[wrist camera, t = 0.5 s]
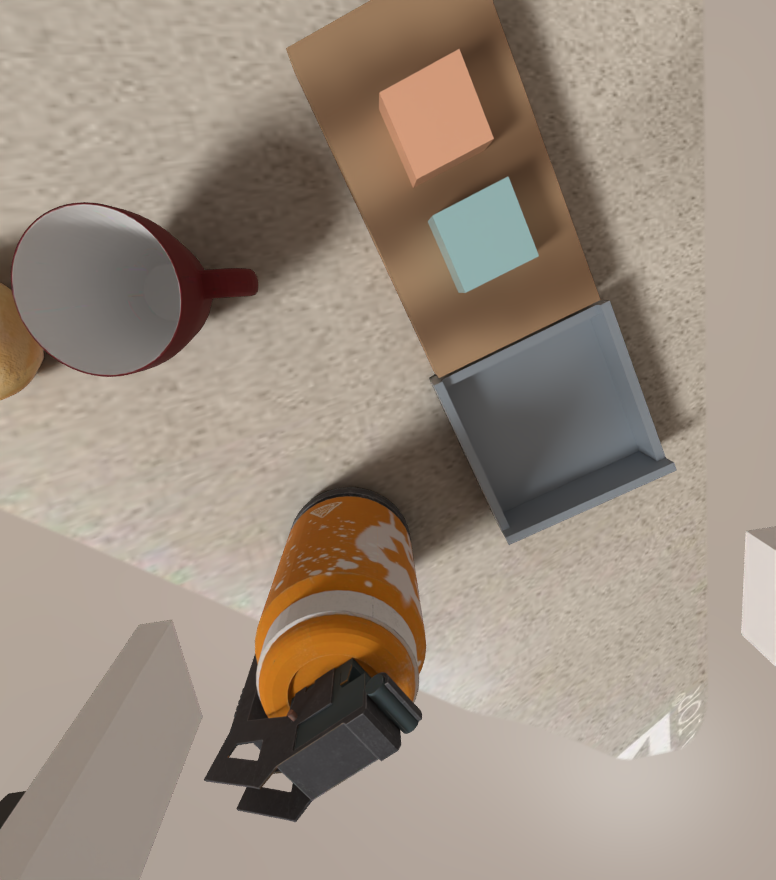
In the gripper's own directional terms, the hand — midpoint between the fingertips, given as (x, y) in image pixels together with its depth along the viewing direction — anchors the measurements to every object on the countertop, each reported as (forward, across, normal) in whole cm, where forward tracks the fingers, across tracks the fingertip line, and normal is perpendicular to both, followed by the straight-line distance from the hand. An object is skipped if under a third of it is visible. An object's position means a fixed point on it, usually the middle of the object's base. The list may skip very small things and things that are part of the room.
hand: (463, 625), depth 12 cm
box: (+26, +10, -3) cm, 28 cm away
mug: (+26, -12, +9) cm, 31 cm away
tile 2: (+23, +4, +16) cm, 28 cm away
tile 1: (+23, +6, +9) cm, 26 cm away
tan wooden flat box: (+26, +5, +13) cm, 29 cm away
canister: (+26, -6, -11) cm, 29 cm away
